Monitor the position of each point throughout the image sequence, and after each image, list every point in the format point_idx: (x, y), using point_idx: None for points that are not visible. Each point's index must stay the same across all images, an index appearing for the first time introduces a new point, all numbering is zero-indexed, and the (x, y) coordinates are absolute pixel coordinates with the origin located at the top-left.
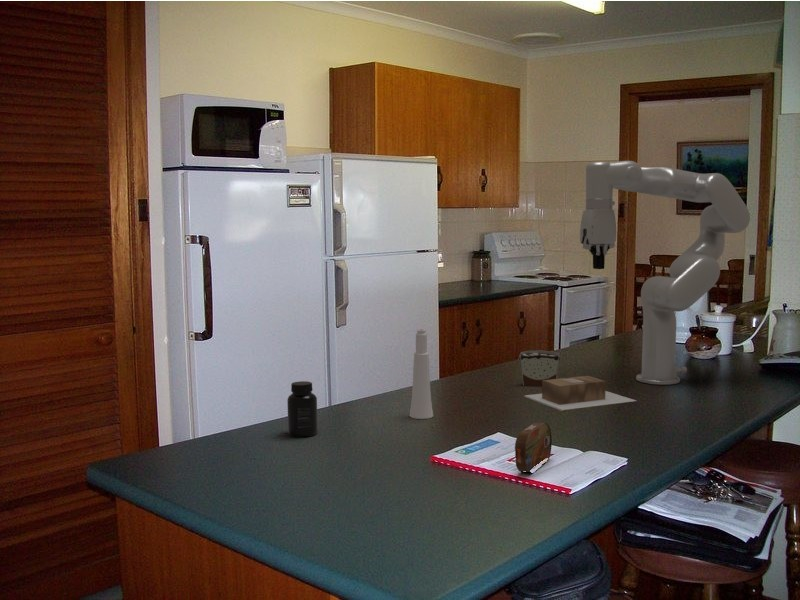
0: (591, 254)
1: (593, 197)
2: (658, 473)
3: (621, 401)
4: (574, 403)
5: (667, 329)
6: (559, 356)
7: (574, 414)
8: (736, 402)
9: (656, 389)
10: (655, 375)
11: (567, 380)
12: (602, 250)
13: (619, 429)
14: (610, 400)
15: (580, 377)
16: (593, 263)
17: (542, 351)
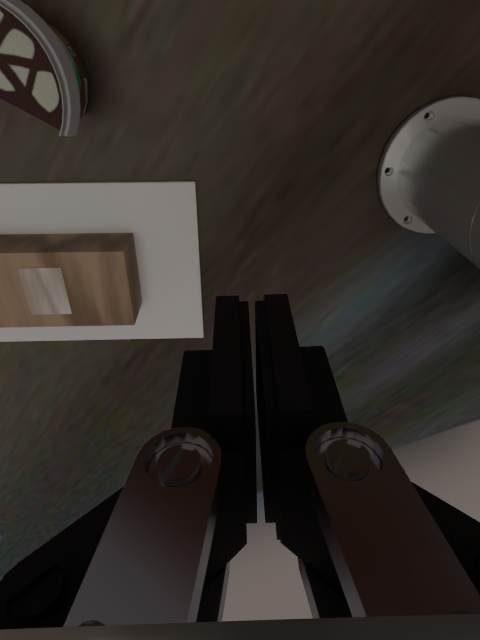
0: (152, 441)
1: None
2: None
3: (166, 330)
4: None
5: None
6: (63, 134)
7: (16, 364)
8: (387, 402)
9: (344, 254)
10: (407, 206)
11: (31, 285)
12: (336, 574)
13: (54, 455)
14: (147, 314)
15: (89, 264)
16: (184, 372)
17: (17, 18)
